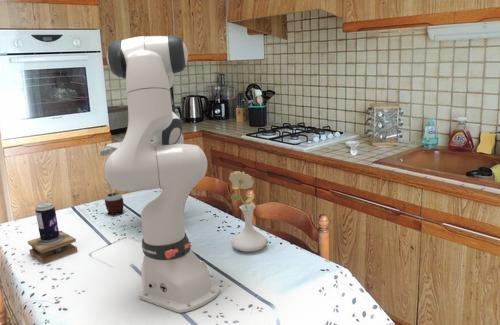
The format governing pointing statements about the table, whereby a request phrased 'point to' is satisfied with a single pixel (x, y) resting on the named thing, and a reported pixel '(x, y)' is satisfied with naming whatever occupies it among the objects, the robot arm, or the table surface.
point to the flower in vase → (246, 217)
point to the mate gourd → (114, 202)
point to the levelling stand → (52, 248)
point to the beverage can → (47, 221)
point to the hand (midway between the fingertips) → (107, 155)
